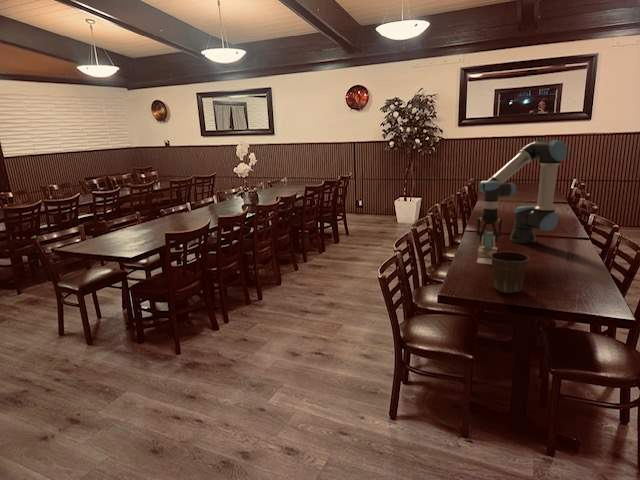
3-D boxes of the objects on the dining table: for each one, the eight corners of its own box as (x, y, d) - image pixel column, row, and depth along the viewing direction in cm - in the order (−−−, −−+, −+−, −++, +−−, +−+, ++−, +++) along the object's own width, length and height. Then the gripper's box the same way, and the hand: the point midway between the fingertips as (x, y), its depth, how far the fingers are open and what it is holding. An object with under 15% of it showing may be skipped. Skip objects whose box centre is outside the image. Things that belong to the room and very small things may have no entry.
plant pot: (488, 293, 193) (490, 260, 189) (488, 281, 207) (490, 250, 203) (527, 297, 187) (530, 262, 183) (524, 284, 202) (527, 252, 197)
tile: (494, 260, 239) (494, 259, 238) (493, 264, 231) (493, 263, 231) (478, 258, 242) (478, 257, 242) (476, 263, 234) (476, 262, 234)
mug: (488, 250, 249) (488, 234, 251) (475, 252, 259) (475, 236, 260) (503, 251, 255) (502, 235, 256) (490, 252, 264) (489, 237, 265)
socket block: (496, 253, 250) (497, 247, 249) (495, 258, 241) (496, 251, 240) (479, 252, 254) (479, 245, 253) (477, 256, 245) (478, 250, 244)
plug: (491, 254, 248) (493, 231, 245) (491, 256, 245) (492, 233, 241) (483, 254, 250) (485, 231, 247) (483, 256, 246) (484, 233, 243)
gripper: (472, 208, 241) (470, 247, 247) (508, 210, 233) (504, 249, 239) (474, 206, 247) (471, 243, 253) (508, 207, 239) (505, 246, 245)
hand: (487, 246), depth 246 cm, fingers open, 6 cm apart
